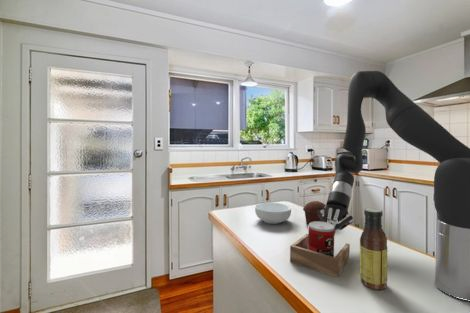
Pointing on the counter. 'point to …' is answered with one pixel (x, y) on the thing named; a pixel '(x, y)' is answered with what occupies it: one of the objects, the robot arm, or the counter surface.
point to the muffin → (313, 211)
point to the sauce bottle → (373, 251)
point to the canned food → (321, 238)
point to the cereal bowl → (273, 212)
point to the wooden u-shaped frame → (318, 258)
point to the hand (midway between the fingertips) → (328, 238)
